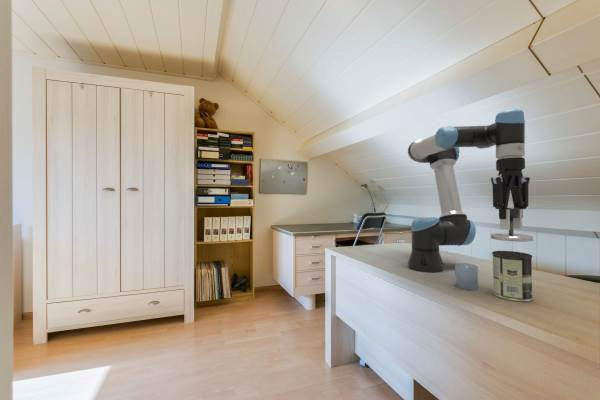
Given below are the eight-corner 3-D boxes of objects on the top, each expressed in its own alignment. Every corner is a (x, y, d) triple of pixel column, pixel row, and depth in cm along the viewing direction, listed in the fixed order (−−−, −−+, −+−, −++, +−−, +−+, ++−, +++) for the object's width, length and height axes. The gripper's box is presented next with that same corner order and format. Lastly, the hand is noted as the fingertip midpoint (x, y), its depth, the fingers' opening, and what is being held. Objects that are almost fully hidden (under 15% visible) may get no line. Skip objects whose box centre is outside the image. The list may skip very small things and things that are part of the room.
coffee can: (520, 291, 92) (519, 250, 92) (540, 303, 82) (540, 257, 82) (486, 289, 94) (486, 250, 94) (502, 300, 84) (502, 256, 84)
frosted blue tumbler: (450, 285, 100) (450, 263, 100) (466, 283, 101) (466, 262, 101) (466, 291, 93) (466, 268, 93) (482, 289, 95) (482, 267, 95)
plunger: (482, 237, 92) (482, 208, 92) (508, 236, 95) (507, 207, 95) (514, 242, 81) (514, 209, 81) (542, 240, 84) (542, 208, 84)
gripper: (499, 155, 82) (500, 231, 82) (543, 157, 86) (544, 229, 86) (478, 159, 90) (479, 228, 90) (519, 160, 94) (520, 226, 94)
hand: (511, 228), depth 88 cm, fingers closed on plunger, 4 cm apart
